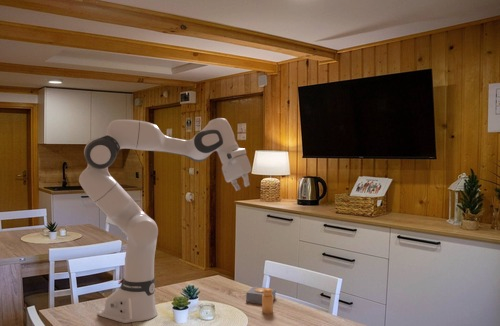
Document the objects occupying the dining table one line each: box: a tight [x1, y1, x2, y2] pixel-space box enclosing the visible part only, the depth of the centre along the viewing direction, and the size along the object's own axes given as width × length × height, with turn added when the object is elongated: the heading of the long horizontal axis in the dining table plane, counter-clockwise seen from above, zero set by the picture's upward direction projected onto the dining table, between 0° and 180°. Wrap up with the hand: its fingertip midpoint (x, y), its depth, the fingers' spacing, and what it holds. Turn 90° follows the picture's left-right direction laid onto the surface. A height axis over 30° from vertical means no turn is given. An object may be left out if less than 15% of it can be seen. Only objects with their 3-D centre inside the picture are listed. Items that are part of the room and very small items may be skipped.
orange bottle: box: [261, 287, 274, 315], centre depth 178 cm, size 4×4×9 cm
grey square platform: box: [245, 285, 277, 305], centre depth 193 cm, size 10×10×4 cm
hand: (242, 188), depth 179 cm, fingers open, 8 cm apart
